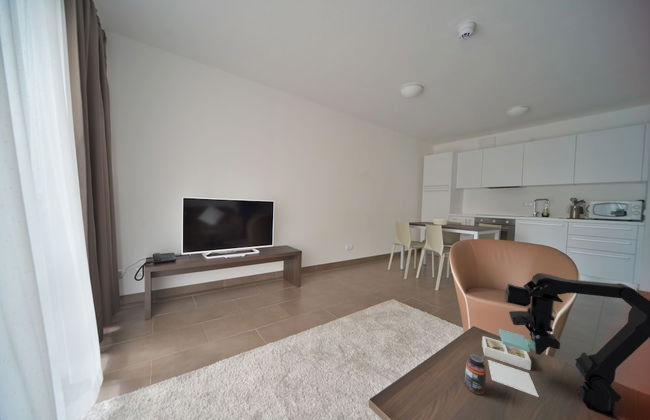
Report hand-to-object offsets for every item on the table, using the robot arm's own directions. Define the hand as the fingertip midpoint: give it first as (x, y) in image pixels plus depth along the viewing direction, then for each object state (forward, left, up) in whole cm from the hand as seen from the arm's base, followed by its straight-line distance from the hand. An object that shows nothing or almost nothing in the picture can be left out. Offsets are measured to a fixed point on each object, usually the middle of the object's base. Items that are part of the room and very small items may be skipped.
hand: (536, 351), depth 82 cm
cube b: (+4, -11, -13) cm, 17 cm away
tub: (+6, -13, -13) cm, 19 cm away
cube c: (+10, -13, -13) cm, 20 cm away
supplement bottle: (+19, +14, -13) cm, 27 cm away
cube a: (+2, -14, -13) cm, 19 cm away
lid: (+5, 0, +1) cm, 5 cm away
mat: (+6, 0, -13) cm, 14 cm away
